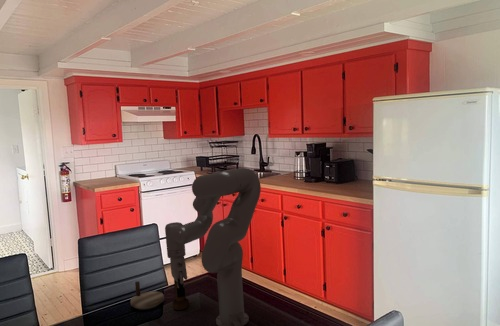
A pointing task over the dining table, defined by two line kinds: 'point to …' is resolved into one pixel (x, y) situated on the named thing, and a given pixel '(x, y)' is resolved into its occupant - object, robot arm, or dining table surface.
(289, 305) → the dining table surface
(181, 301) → the wooden pepper mill
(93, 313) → the dining table surface
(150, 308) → the turntable base
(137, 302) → the disc
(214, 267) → the robot arm
